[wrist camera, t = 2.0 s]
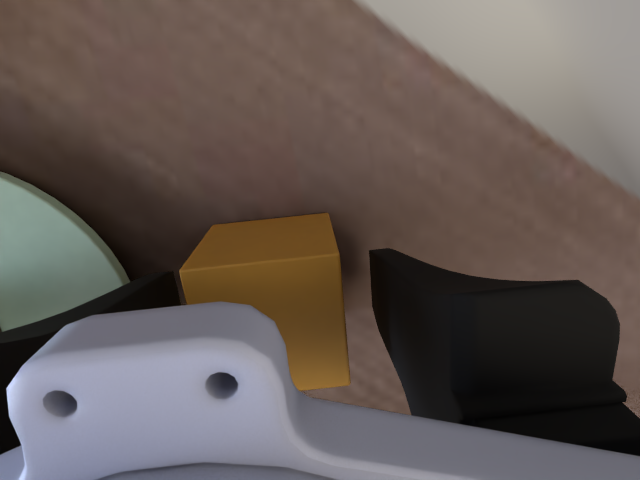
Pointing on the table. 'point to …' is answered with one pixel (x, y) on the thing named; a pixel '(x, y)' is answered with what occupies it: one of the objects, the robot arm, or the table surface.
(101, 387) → the robot arm
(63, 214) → the lid
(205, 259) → the block
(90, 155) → the table surface
